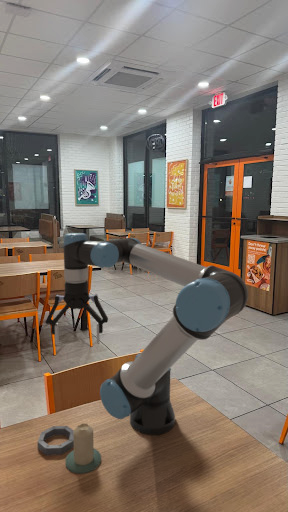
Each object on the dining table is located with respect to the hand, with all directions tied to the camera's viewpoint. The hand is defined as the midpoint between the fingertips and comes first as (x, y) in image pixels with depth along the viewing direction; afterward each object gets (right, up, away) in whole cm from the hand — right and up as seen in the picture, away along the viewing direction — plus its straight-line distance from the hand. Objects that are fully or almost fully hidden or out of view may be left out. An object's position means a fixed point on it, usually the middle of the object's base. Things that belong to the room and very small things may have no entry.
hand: (77, 342), depth 119 cm
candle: (+5, -29, -17) cm, 34 cm away
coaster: (+5, -29, -17) cm, 35 cm away
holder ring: (-4, -28, -10) cm, 30 cm away
